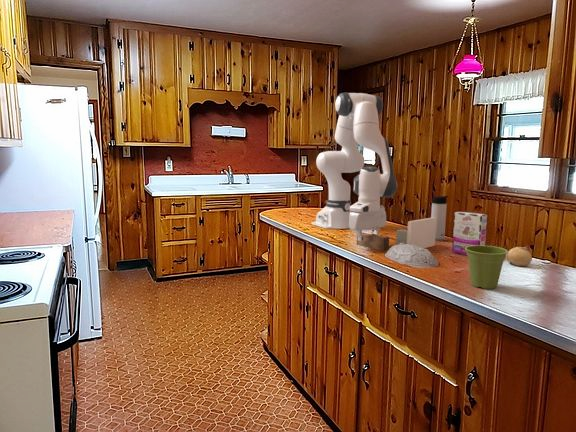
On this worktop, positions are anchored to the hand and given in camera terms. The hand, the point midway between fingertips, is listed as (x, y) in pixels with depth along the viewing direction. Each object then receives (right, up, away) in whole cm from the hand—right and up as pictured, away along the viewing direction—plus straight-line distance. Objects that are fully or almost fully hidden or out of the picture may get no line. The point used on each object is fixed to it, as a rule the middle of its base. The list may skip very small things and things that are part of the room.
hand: (367, 239), depth 185 cm
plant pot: (+26, -12, -51) cm, 58 cm away
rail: (+2, -3, -2) cm, 4 cm away
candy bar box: (+37, -6, -12) cm, 39 cm away
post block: (+19, -3, +1) cm, 19 cm away
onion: (+49, -8, -27) cm, 56 cm away
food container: (+12, -7, -20) cm, 25 cm away
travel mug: (+34, -1, +15) cm, 38 cm away
